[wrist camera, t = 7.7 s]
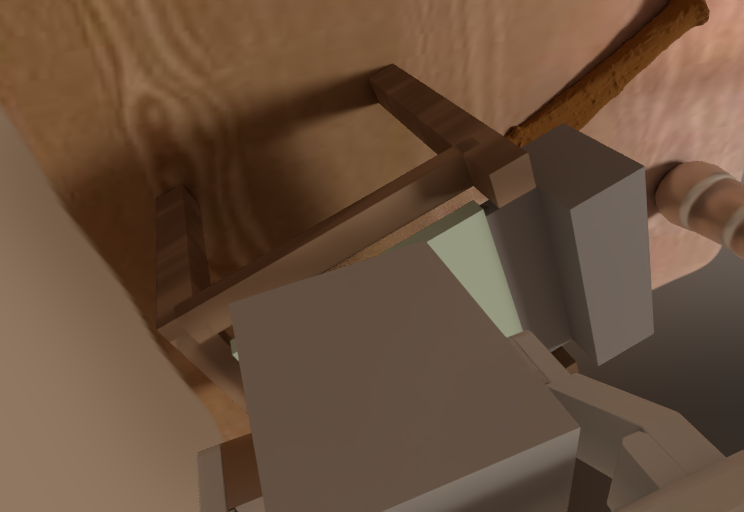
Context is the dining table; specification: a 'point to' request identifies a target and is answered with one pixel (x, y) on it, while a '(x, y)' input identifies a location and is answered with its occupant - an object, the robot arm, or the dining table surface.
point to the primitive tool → (613, 72)
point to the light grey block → (396, 396)
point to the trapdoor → (558, 249)
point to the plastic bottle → (704, 203)
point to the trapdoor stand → (329, 226)
